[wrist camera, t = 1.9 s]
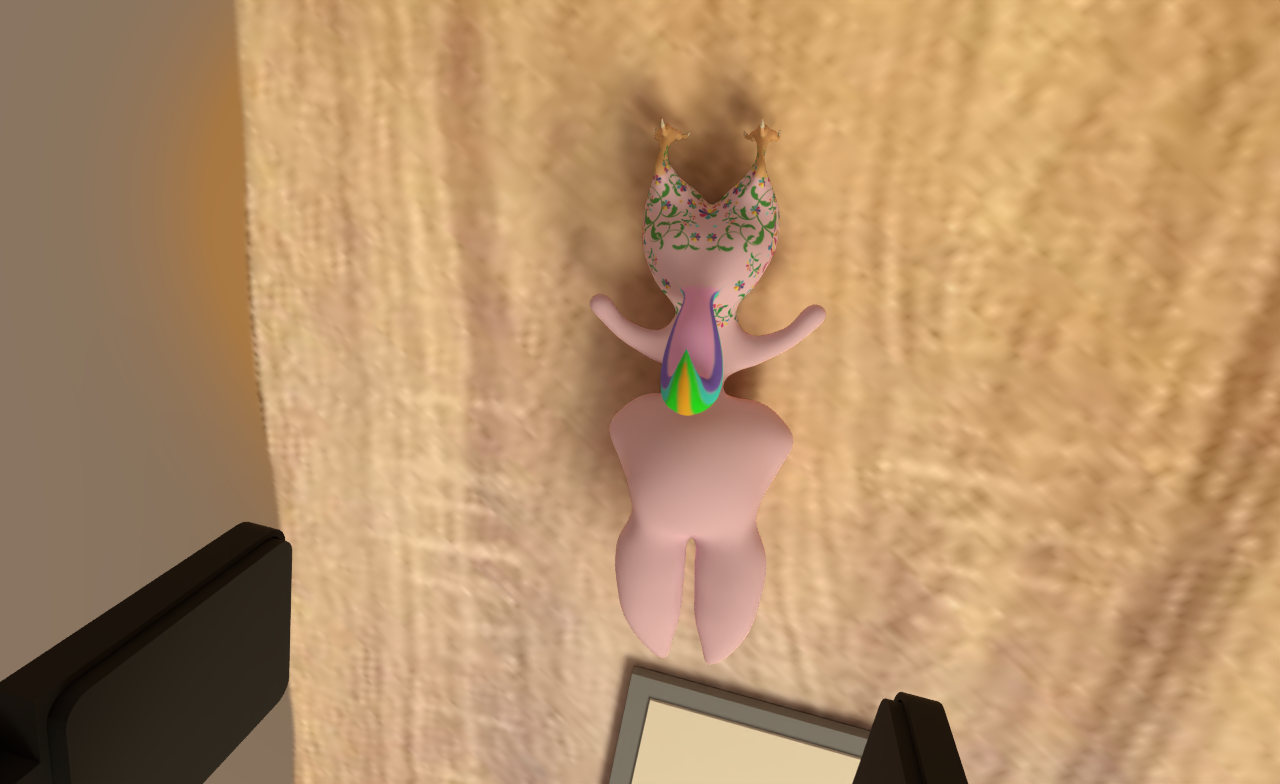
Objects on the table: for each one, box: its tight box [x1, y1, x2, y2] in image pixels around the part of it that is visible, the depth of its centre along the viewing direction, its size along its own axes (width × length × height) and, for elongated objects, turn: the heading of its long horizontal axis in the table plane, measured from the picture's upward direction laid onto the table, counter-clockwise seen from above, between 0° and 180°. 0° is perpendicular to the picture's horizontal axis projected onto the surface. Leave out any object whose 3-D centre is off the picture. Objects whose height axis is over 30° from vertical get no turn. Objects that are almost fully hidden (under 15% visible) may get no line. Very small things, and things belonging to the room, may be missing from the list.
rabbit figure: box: [590, 118, 826, 664], centre depth 19 cm, size 6×6×15 cm
